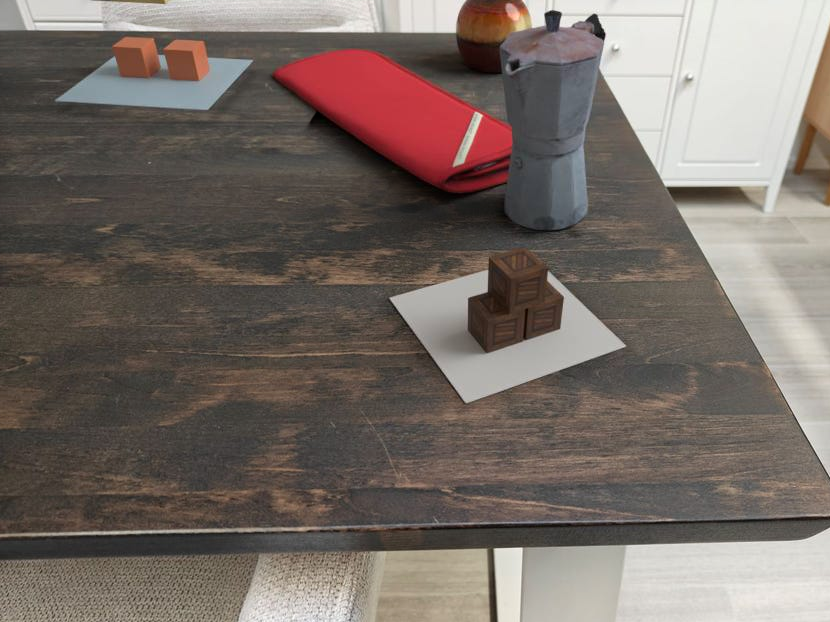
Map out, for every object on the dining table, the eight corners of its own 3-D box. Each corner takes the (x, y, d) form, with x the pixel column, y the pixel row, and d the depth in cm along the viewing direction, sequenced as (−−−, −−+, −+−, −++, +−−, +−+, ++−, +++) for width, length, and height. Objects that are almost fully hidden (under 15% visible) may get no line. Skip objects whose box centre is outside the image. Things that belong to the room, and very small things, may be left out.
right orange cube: (170, 79, 100) (162, 49, 98) (182, 69, 103) (175, 39, 101) (199, 81, 100) (192, 50, 98) (210, 70, 103) (203, 40, 101)
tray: (57, 109, 95) (53, 100, 94) (121, 60, 109) (119, 52, 108) (209, 119, 94) (207, 109, 93) (255, 68, 108) (253, 59, 107)
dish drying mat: (371, 63, 110) (369, 36, 108) (552, 169, 85) (554, 138, 83) (272, 85, 103) (268, 57, 100) (438, 208, 78) (437, 176, 76)
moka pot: (466, 224, 76) (467, 17, 63) (544, 168, 86) (559, -21, 72) (546, 254, 72) (566, 40, 59) (618, 192, 82) (649, -3, 68)
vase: (519, 81, 106) (526, -39, 96) (445, 72, 108) (444, -47, 98) (537, 56, 114) (545, -58, 104) (468, 47, 116) (469, -64, 106)
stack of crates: (533, 257, 72) (538, 192, 67) (626, 346, 62) (640, 278, 57) (388, 298, 66) (384, 231, 62) (466, 403, 56) (466, 333, 52)
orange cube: (120, 76, 101) (111, 46, 98) (133, 66, 104) (125, 36, 101) (149, 78, 101) (140, 48, 98) (161, 67, 104) (153, 38, 101)
